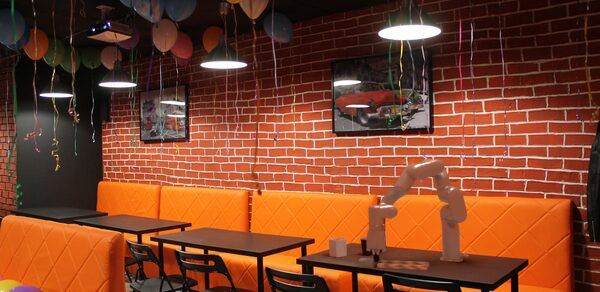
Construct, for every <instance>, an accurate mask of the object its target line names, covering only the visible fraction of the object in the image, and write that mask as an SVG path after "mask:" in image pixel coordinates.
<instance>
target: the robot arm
mask: <svg viewBox="0 0 600 292" xmlns="http://www.w3.org/2000/svg"><path fill="white" fill-rule="evenodd" d="M428 178H432V180H433V182H434V186H435V189H436V193H437V197H438V200H439V201H440V202H442V203H444V204H443V206H441V208H440V209H439V217H440V222H441V238H442V239H441V240H442V241H441V242H442V243H441V244H442V256H440V257H439V260H440V261H444V262H456V263H462V262H463V261H464V258H465V259H468V258H469V254H467V253H462V252H461V248H460V246H461V245H460V244H461V241H460V240H461V239H460V238H461V237H460V225H459V224H462V223H464V222H465V221H466V220H467V217H468V211H467V207H466V203H465V198H464V193H463V192H462V190H461V189H459V187H456V186H452V181H451V180H450V176H449V173H448V172H447V170H446V169H445V163H444V162H443V161H442V160H441V159H436V158H434V159H433V158H427V159H423V160H422V161H421V162H420V163H409V164H407V165H406V166H405V167H404V169H403V170H402V172H401V174H400V176H399V178H398V180H397V181H396V182H395V184H394V186H393V187H391V188H390V189H389V190H388V191H387V192H386V193H385V195H384V196H382V199H381V200H380V202H379V204H377V205H376V204H373V205H369V206H368V209H367V210H368V214H367V215H368V230H367V233H366V237H367V249H366V250H367V251H370V252H371V253H372V254H373V255H372V257H373V258H372V259H374V260H375V263H379V262H380V261H381V260H380V259H381V257H380V254H381V253H384V252H387V240H386V239H387V238H386V232H385V229H386V226H385V225H383V219H390V220H391V219H395V218H396V217H397V216H398V212H399V211H398V207H396V206H395V205H394V204H396V202H397V201H398V200H400V199H401V198H403V197H405V196H406V195H408V194H409V193H410V191H411V190H412V187H413V185H414V184H415V183H416V181H418V180H419V181H420V180H425V179H428Z"/></svg>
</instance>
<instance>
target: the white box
mask: <svg viewBox="0 0 600 292" xmlns="http://www.w3.org/2000/svg"><path fill="white" fill-rule="evenodd" d="M328 251H329V252H328V255H329V257H331V258H344V257H347V255H348V253H347V251H348V250H347V238H345V237H333V238H332V237H331V238H329V239H328Z"/></svg>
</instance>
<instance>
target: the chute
mask: <svg viewBox="0 0 600 292" xmlns="http://www.w3.org/2000/svg"><path fill="white" fill-rule="evenodd" d="M376 264H377V269H378V268H379V269H380V268H381V269H394V270H395V269H396V270H397V269H398V270H414V271H417V270H418V271H428V270H429V267H430V262H429V261H411V260H393V259H392V260H389V259H388V260H387V259H381V260H380V263H379V262H377V263H376Z"/></svg>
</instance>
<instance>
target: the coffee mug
mask: <svg viewBox="0 0 600 292" xmlns="http://www.w3.org/2000/svg"><path fill="white" fill-rule="evenodd" d="M359 240H360V245H361V251H362V252H361V253H362V256H364V257H365V256H366V257H373V254H372V253H371V252H370V251H367V250H366V249H367V236H365V237H361V238H360V239H359Z"/></svg>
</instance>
